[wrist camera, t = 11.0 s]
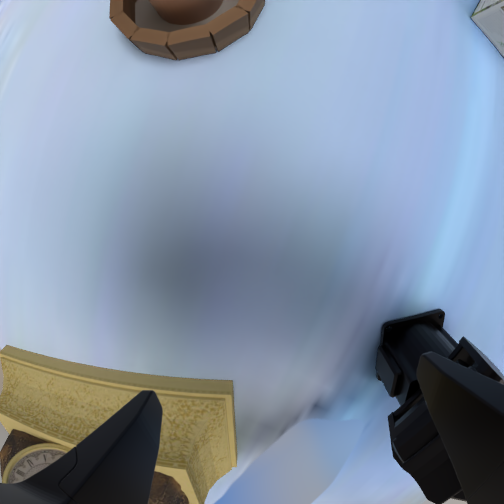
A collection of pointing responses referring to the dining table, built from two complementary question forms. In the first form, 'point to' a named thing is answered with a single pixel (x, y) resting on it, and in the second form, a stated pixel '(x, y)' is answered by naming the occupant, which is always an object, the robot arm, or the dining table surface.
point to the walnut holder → (183, 28)
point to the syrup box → (491, 21)
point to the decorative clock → (102, 408)
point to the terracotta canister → (185, 10)
